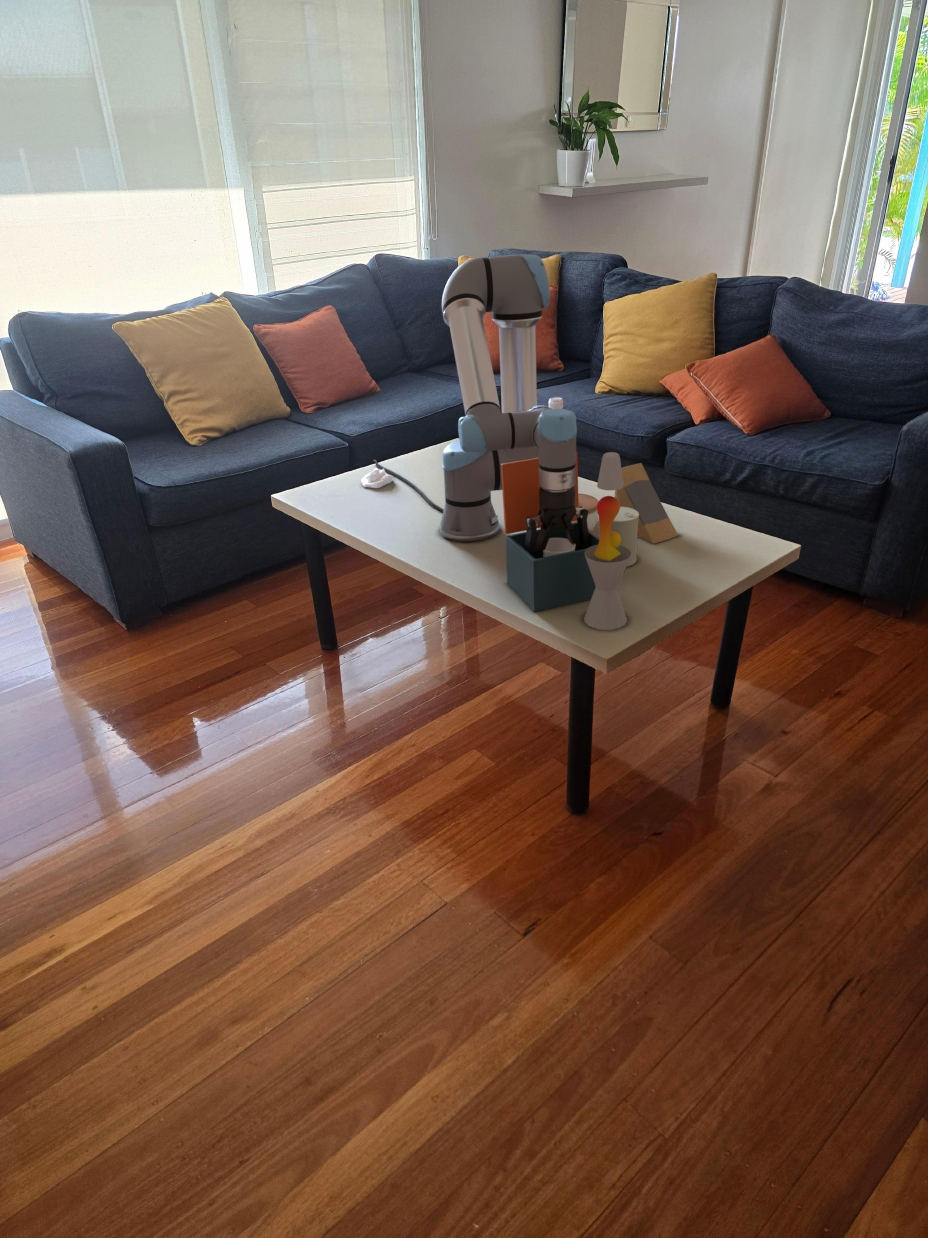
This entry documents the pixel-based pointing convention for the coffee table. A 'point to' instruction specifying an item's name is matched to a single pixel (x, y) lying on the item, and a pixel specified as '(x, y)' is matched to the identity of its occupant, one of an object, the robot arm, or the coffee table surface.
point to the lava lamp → (607, 554)
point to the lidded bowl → (589, 509)
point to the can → (627, 530)
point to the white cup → (558, 547)
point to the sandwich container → (644, 505)
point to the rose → (376, 479)
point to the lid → (523, 493)
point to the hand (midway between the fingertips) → (556, 585)
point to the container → (549, 573)
